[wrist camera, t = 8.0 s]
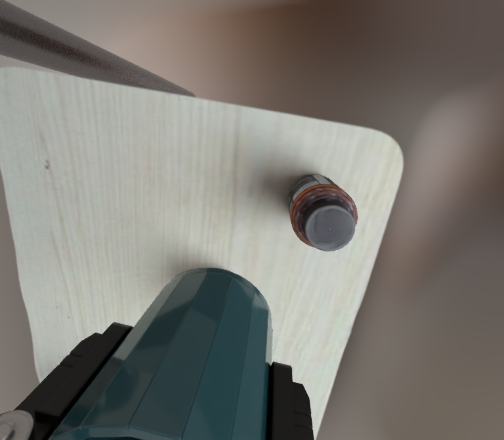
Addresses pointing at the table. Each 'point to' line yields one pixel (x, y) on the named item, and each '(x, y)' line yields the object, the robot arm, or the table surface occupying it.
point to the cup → (185, 368)
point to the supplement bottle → (321, 213)
